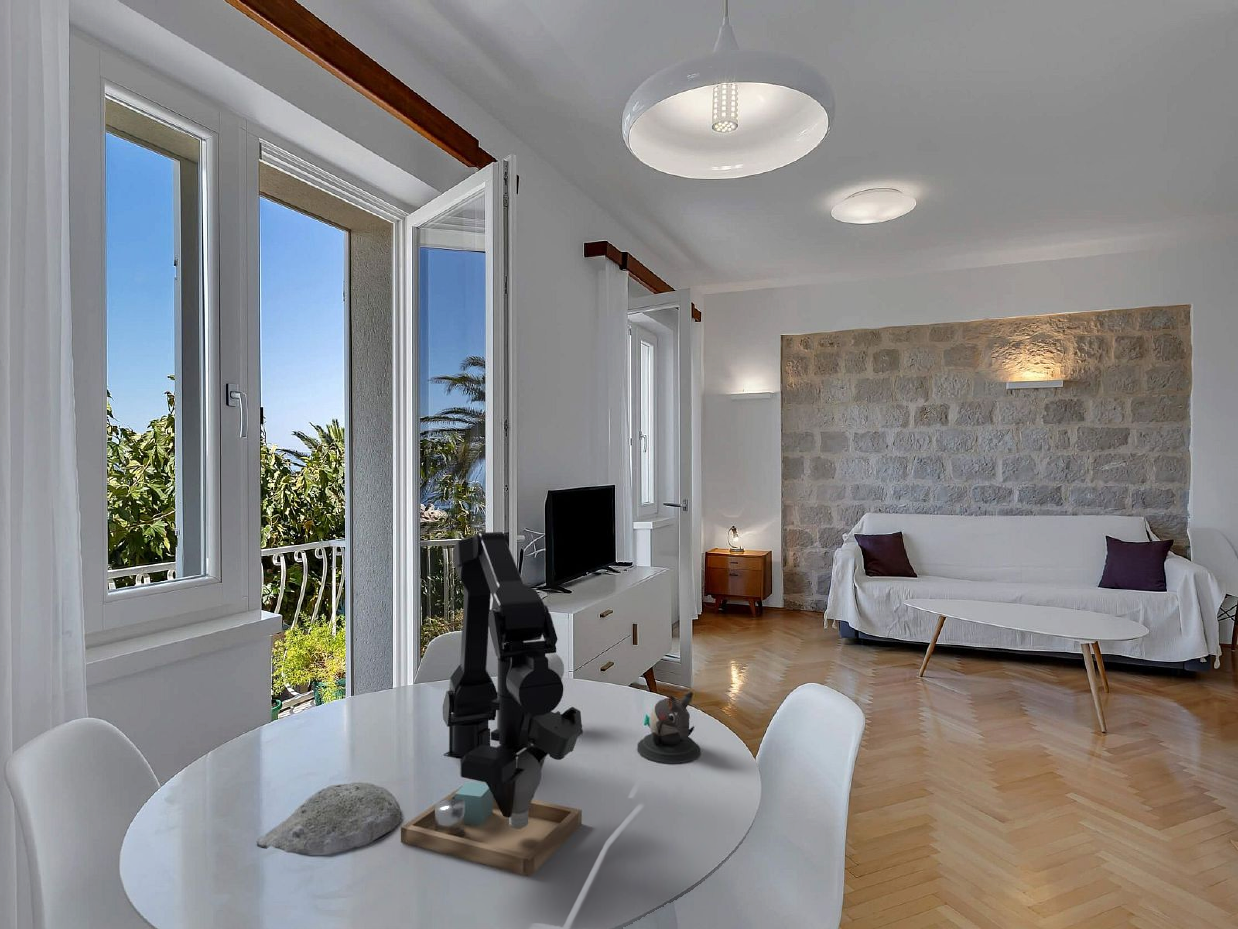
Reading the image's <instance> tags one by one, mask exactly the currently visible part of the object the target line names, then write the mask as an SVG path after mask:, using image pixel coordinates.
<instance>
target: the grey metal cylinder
mask: <svg viewBox="0 0 1238 929" xmlns="http://www.w3.org/2000/svg"><path fill="white" fill-rule="evenodd" d="M440 801H441V800H440ZM438 802H439V801H438ZM438 802H436V803H437V804H436V803H435V804H436V806H435V831H437V832H441V833H445V834H448V835H452V836H456V837H460V838H463V837H464V835H465V802H464V801H462V800H460V799H447V800H443V801H441V802H439V803H438Z"/></svg>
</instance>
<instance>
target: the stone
mask: <svg viewBox="0 0 1238 929" xmlns="http://www.w3.org/2000/svg"><path fill="white" fill-rule="evenodd" d="M403 821H404V818H403V815H401V805H400V803H399V801H397V799H396V797H395V796H394V795H393V794H392V793H391V792H390V791H389V790H388V789H387V788H385V787H383V786H379V785H375V784H373V783H369V782H360V781H359V782H355V781H354V782H350V783H344V784H341V783H340V784H333V785H330V786H327V787H325V788H323V789H321V790H318V791H317V792H315V793H314V794H312V795H311V796H309V797H308V798H306V800H305V801H304V802H303V803H302V804H300V805H299V806H298V808H296V809H295V810H294V812H292V813H291V814H290V815H289V816H288V817H287V818H286V819H285V820H284V821H282V822H281V823H279V824H277V825H276V826H275V827H273V828H272V829H270V830H268V831H267V832H266V833H265V834H264V835H262V836H260V837H259V838H258V839H257V840H256V844H257V846H259V847H261V848H265V849H268V848H271V847H273V848H274V849H278V850H281V851H284V852H285V853H292V854H293V853H295V854H298V855H304V856H329V855H334V854H337V853H341V852H345V851H349V850H353V849H358V848H360V847H363V846H366V845H369V844H371V843H373V842H375V841H376V840H377V839H378V838H380V837H382V836H384V835H386V834H387V833H389V832H391V831H393V830H394V829H395V828H396V827H397V826H398V825H399V824H400V823H402V822H403Z"/></svg>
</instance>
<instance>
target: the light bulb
mask: <svg viewBox="0 0 1238 929" xmlns="http://www.w3.org/2000/svg"><path fill="white" fill-rule="evenodd" d="M517 768H521V769H525V770H524V772H523V773H522V774H521V775H520V776H519V777H517V779H516V781H515V791H514V801H513V809H512V815H511V817H510V818H509V826H510V827H512V828H515V829H521V828H523V827H525V826H527V825H528V810H529V808H530V806H531V800H532V797H533V795H534V796H535V793H536V791H537V789H538V787H539V786H540V783H541V780H542V769H541V767H540V765H539V763H538V761H537V759H536V758H535V757H534V756H533V755H532V754H530V753H528V752H525V751H522V752H521V753H520V754H518V759H517ZM533 798H534V797H533Z"/></svg>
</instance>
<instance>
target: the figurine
mask: <svg viewBox="0 0 1238 929" xmlns="http://www.w3.org/2000/svg"><path fill="white" fill-rule="evenodd" d="M693 695H694V692H691V691H690V692H688V693H686V694H685V695H683V697H682V699H681V700H678V699H677V698H675V697H674V696H673V695H671V694H670V695H668V697H666V698H664V699H661V700H659V701H658V702H656V703H655V705H654V706H653V707H652V709H651V712H650V715H649V716H648V714H645V715H644V717H645V718H644V721H643V725H644V726H648V727H649V728H650V732H651V733H649V734H646V735H645V736H644V737H643V738H641V739H640V740H639V742H638V743H637V748H636V751H637V752H638V754H639V755H640V756H641V757H642V758H644V759H646V760H647V761H650V762H654V763H657V764H663V765H664V764H665V765H682V764H687V763H691V762H694V761H695V760H698V758H699V757H700V756H701V753H702V751H701V747H700V745H699V744H698V743H697V742H695V741H694V740H693V739H692V737H689V736H690V735H691V734H692V733H693V731H694V730H695V727H696V725H693V726H692V727H690V718H691V716H690V715H691V714H690V712H689V711H688V709H687V708H688V706H689V705H690V703H691V701H692V699H693Z"/></svg>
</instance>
